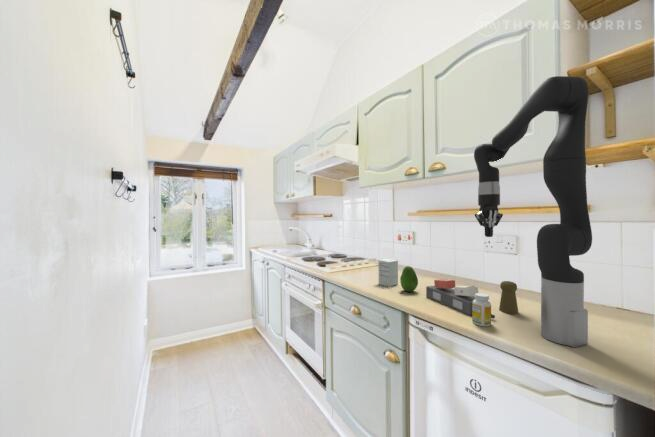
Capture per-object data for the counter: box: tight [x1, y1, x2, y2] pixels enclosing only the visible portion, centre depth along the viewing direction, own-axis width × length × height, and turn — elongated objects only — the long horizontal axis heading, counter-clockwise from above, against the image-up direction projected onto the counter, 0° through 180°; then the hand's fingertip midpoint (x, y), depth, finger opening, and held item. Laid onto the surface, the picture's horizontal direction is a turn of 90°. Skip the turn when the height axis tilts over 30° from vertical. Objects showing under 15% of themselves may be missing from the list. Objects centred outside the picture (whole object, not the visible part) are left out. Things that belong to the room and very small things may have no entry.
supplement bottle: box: [471, 292, 492, 327], centre depth 88 cm, size 5×5×10 cm
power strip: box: [425, 285, 496, 320], centre depth 104 cm, size 29×8×5 cm, turn 19°
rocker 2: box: [453, 285, 479, 296], centre depth 101 cm, size 7×5×3 cm
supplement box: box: [377, 258, 399, 287], centre depth 138 cm, size 7×7×13 cm
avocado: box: [399, 265, 419, 292], centre depth 125 cm, size 8×8×12 cm
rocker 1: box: [434, 278, 457, 289], centre depth 112 cm, size 7×5×3 cm
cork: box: [498, 280, 519, 315], centre depth 99 cm, size 6×6×11 cm
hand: (488, 236), depth 107 cm, fingers closed
